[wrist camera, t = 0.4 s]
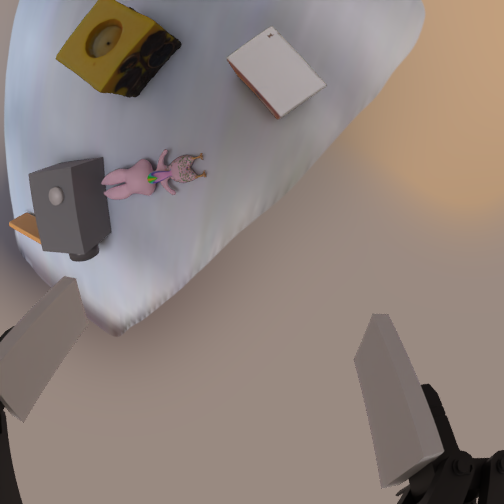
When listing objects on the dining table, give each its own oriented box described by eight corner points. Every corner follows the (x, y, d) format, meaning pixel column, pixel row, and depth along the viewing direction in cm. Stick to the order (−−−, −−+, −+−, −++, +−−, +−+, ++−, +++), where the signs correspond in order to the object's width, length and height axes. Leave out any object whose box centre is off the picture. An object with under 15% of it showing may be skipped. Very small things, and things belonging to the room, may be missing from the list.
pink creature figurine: (201, 141, 35) (102, 165, 35) (197, 143, 30) (84, 172, 30) (209, 185, 38) (112, 206, 38) (206, 194, 33) (96, 218, 32)
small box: (236, 75, 30) (223, 56, 21) (271, 50, 28) (271, 23, 19) (277, 121, 32) (280, 119, 23) (312, 96, 31) (328, 85, 21)
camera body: (60, 162, 36) (24, 175, 28) (103, 157, 35) (66, 168, 27) (72, 242, 42) (43, 266, 34) (113, 245, 42) (85, 271, 34)
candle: (94, 67, 29) (52, 59, 20) (137, 13, 26) (102, -8, 17) (137, 100, 32) (97, 96, 23) (184, 43, 28) (156, 21, 19)
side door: (66, 231, 40) (47, 244, 35) (66, 240, 41) (48, 254, 36) (27, 211, 39) (8, 222, 34) (26, 220, 40) (8, 231, 35)
